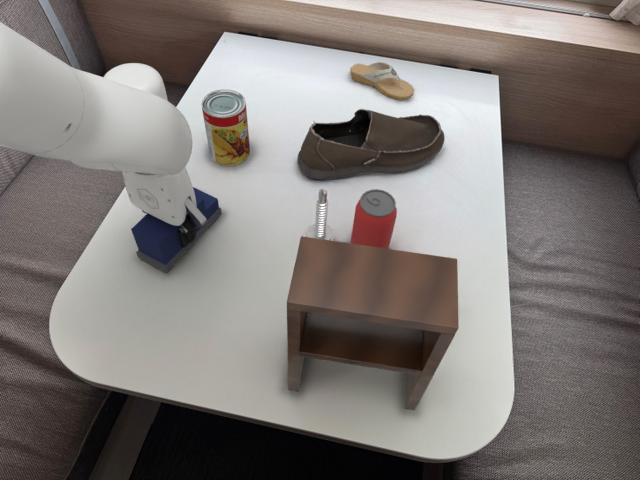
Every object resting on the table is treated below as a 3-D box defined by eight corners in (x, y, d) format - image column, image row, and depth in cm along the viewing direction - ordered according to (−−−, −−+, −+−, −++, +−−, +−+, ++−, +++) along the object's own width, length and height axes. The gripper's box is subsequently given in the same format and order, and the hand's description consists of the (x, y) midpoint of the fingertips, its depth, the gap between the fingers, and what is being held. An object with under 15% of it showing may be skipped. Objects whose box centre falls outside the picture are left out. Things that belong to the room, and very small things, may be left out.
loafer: (451, 162, 103) (465, 120, 95) (310, 196, 96) (312, 154, 88) (426, 128, 110) (437, 85, 101) (292, 157, 102) (292, 114, 94)
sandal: (408, 104, 114) (412, 85, 110) (343, 83, 118) (345, 64, 114) (418, 88, 118) (422, 68, 114) (355, 68, 122) (357, 49, 118)
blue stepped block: (166, 273, 84) (157, 246, 79) (137, 257, 86) (127, 230, 80) (221, 213, 92) (217, 186, 87) (194, 200, 94) (188, 172, 89)
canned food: (256, 159, 102) (252, 110, 92) (217, 171, 99) (209, 121, 90) (241, 134, 106) (236, 85, 96) (204, 145, 103) (195, 95, 94)
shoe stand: (287, 390, 73) (286, 302, 54) (298, 333, 79) (301, 235, 60) (414, 410, 72) (458, 328, 53) (417, 351, 78) (457, 258, 59)
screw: (337, 249, 89) (309, 254, 88) (329, 228, 92) (302, 233, 91) (343, 198, 79) (312, 203, 78) (334, 176, 82) (304, 180, 81)
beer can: (362, 227, 92) (371, 180, 83) (394, 245, 90) (407, 199, 81) (342, 251, 89) (348, 204, 79) (374, 270, 87) (385, 225, 77)
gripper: (85, 144, 73) (118, 227, 87) (182, 192, 68) (201, 271, 82) (122, 116, 77) (148, 199, 91) (217, 158, 72) (229, 239, 86)
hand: (173, 232), depth 87 cm, fingers closed on blue stepped block, 5 cm apart
